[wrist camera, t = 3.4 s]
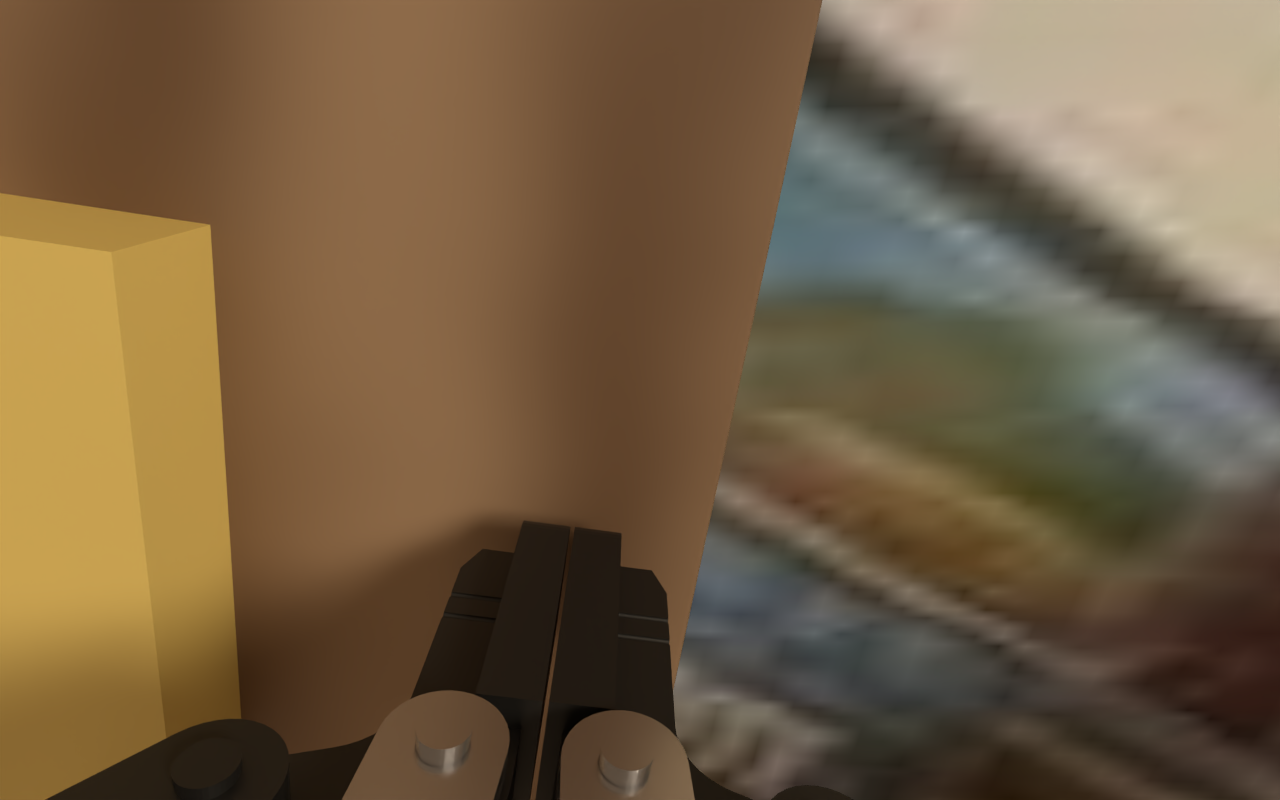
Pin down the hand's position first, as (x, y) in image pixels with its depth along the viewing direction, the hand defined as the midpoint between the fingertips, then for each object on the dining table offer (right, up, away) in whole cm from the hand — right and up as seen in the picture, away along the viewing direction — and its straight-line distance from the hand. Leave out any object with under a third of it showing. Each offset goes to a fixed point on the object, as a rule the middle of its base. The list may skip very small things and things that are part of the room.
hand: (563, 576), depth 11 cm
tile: (-8, +1, 0) cm, 8 cm away
